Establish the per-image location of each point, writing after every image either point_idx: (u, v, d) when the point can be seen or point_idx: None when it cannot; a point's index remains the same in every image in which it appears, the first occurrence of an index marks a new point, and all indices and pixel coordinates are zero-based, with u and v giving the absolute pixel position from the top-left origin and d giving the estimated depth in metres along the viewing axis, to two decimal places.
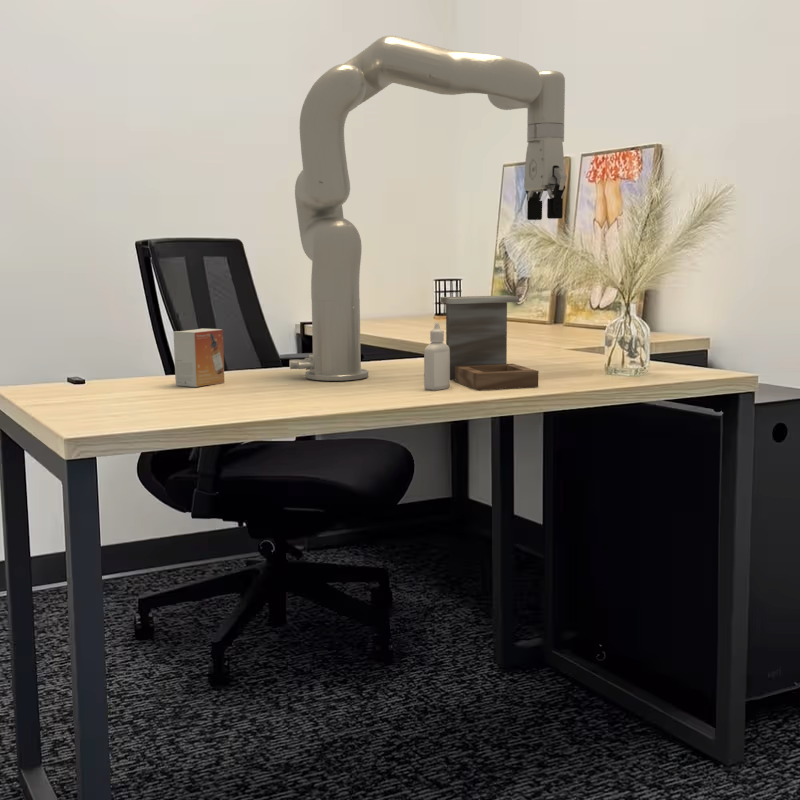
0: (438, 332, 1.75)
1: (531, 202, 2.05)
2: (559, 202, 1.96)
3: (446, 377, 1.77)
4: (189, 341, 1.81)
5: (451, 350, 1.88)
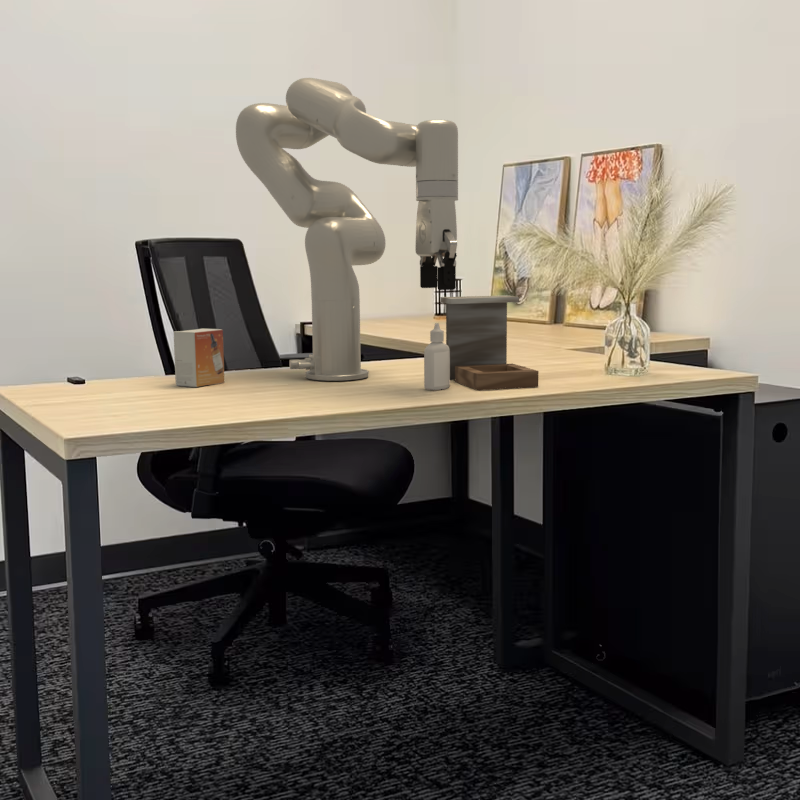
0: (438, 332, 1.75)
1: (424, 268, 1.79)
2: (451, 271, 1.69)
3: (446, 377, 1.77)
4: (189, 341, 1.81)
5: (451, 350, 1.88)
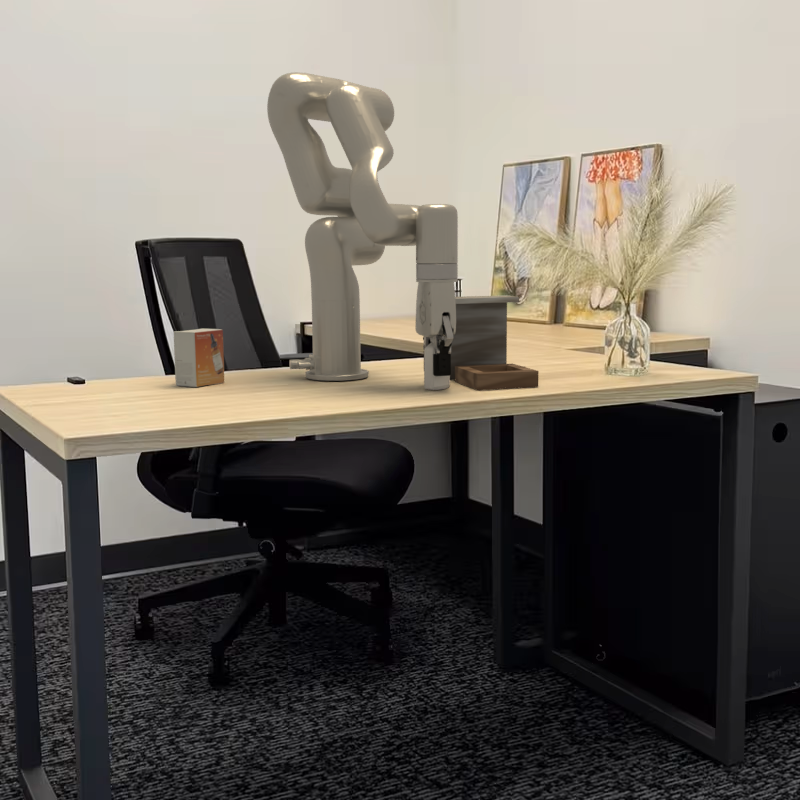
0: None
1: None
2: (446, 358, 1.74)
3: (446, 377, 1.77)
4: (189, 341, 1.81)
5: (451, 350, 1.88)
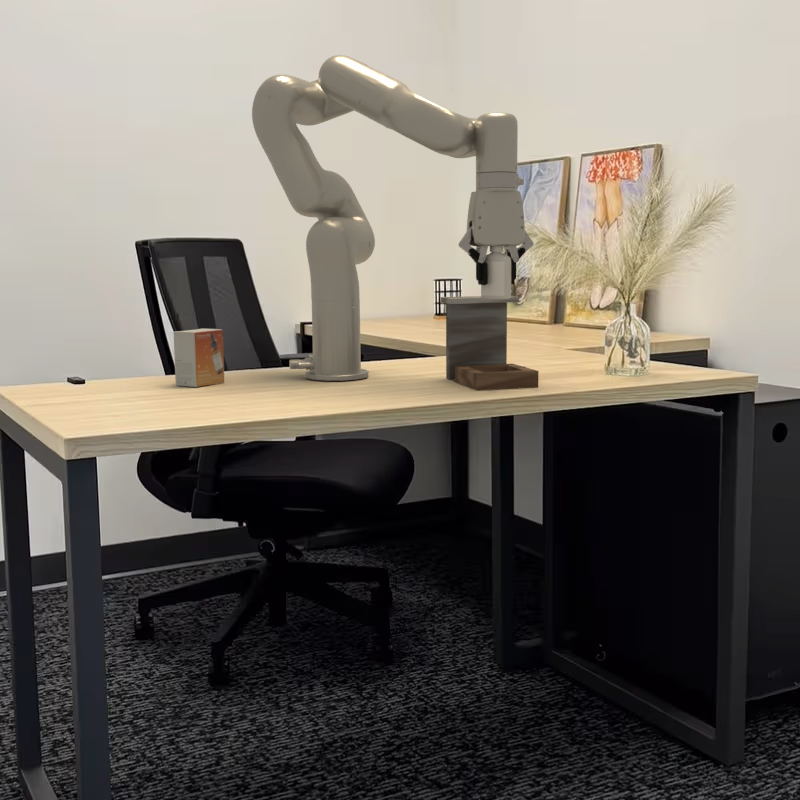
0: None
1: None
2: (478, 267, 1.77)
3: (494, 288, 1.78)
4: (189, 341, 1.81)
5: (451, 350, 1.88)
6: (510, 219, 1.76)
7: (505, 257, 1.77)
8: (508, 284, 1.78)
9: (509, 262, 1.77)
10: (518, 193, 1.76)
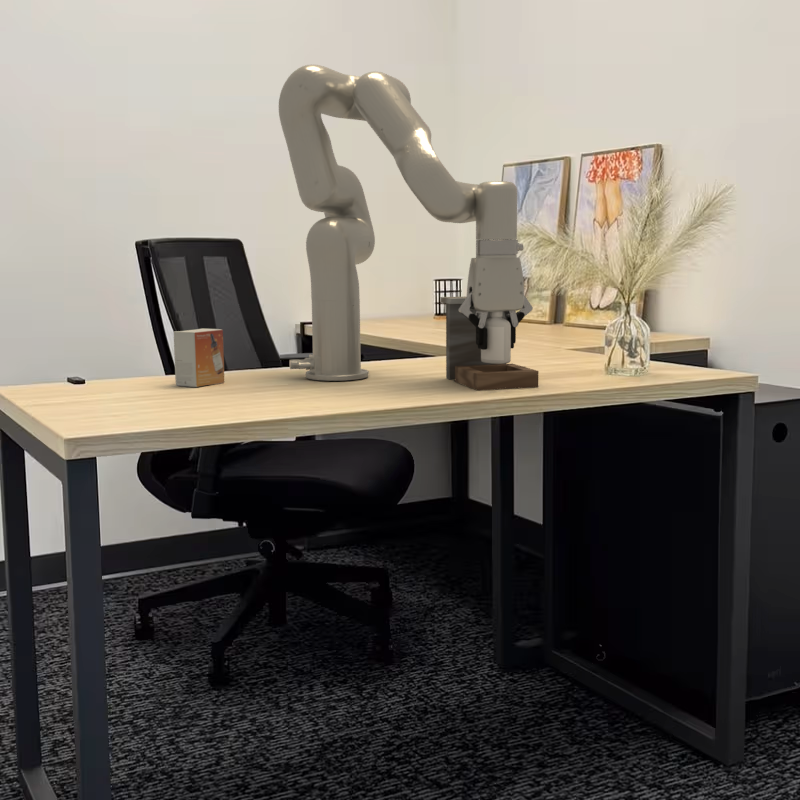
0: None
1: None
2: (478, 332, 1.79)
3: (494, 352, 1.80)
4: (189, 341, 1.81)
5: (451, 350, 1.88)
6: (510, 285, 1.78)
7: (505, 322, 1.79)
8: (508, 349, 1.80)
9: (509, 327, 1.79)
10: (517, 259, 1.78)
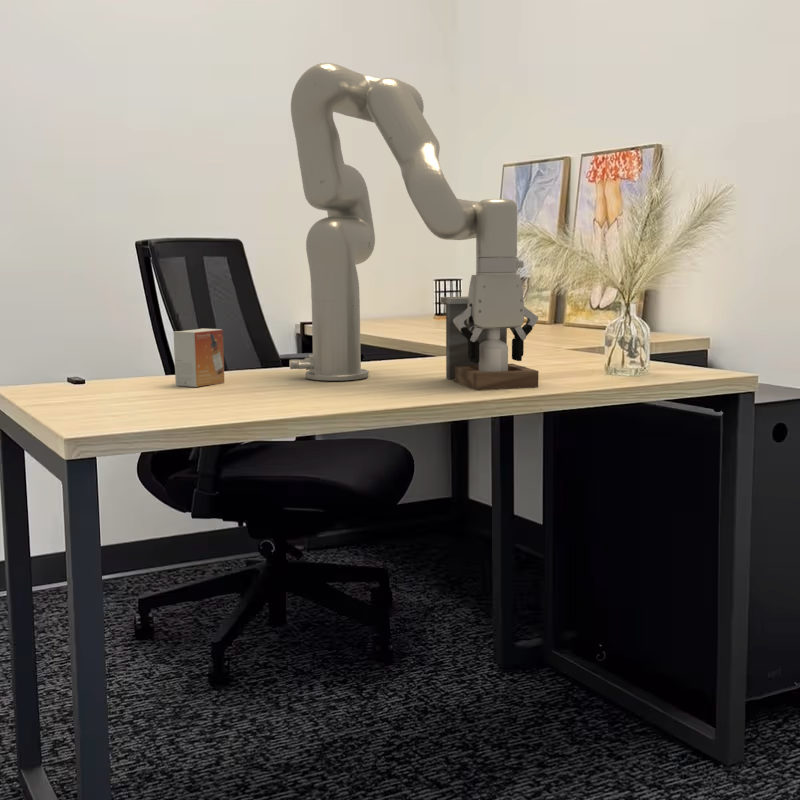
0: None
1: (513, 340, 1.83)
2: (470, 345, 1.79)
3: None
4: (189, 341, 1.81)
5: (451, 350, 1.88)
6: (510, 302, 1.78)
7: (502, 345, 1.79)
8: None
9: (506, 349, 1.80)
10: (518, 277, 1.78)
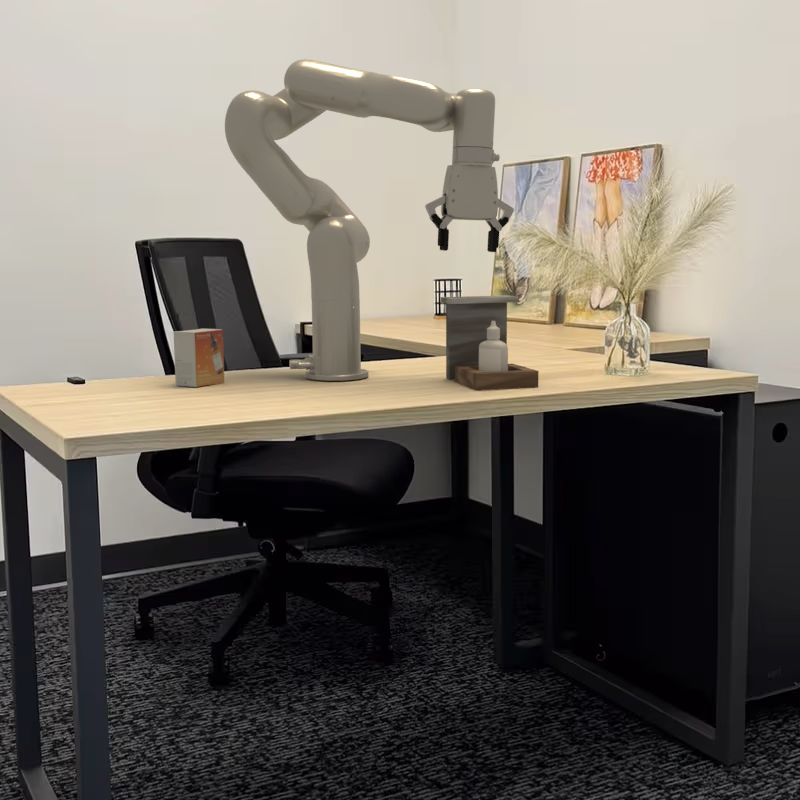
0: (487, 329, 1.80)
1: (489, 232, 1.85)
2: (440, 233, 1.81)
3: None
4: (189, 341, 1.81)
5: (451, 350, 1.88)
6: (483, 194, 1.80)
7: (501, 345, 1.79)
8: None
9: (505, 349, 1.80)
10: (493, 169, 1.80)
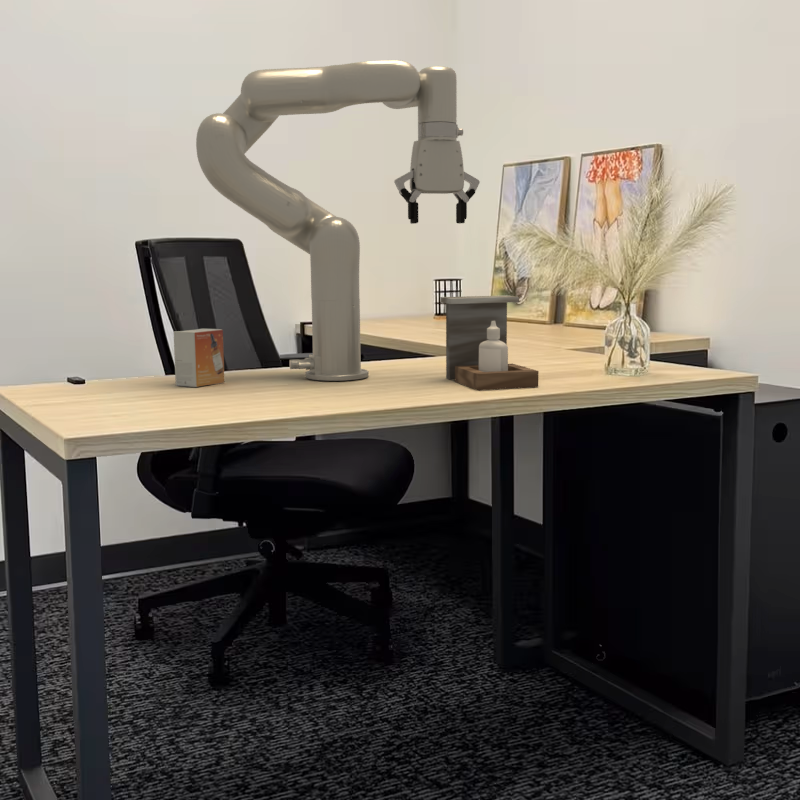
0: (487, 329, 1.81)
1: (457, 204, 1.93)
2: (409, 206, 1.88)
3: None
4: (189, 341, 1.81)
5: (451, 350, 1.88)
6: (450, 167, 1.88)
7: (501, 345, 1.79)
8: None
9: (505, 349, 1.80)
10: (457, 142, 1.88)
